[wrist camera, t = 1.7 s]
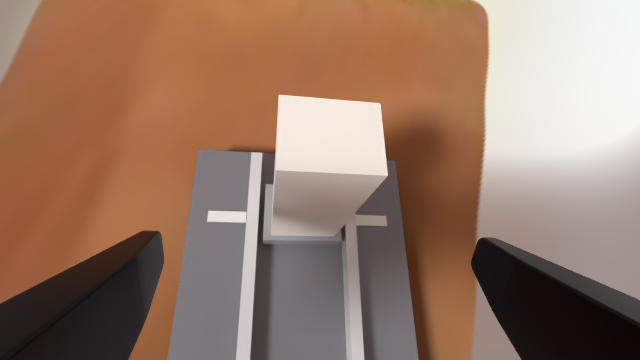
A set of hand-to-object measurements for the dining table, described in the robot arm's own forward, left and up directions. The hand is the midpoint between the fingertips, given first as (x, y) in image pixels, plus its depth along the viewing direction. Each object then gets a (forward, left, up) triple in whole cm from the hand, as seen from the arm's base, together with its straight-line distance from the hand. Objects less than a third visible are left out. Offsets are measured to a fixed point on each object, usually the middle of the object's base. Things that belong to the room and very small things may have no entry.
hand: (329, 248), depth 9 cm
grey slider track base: (-1, 0, -10) cm, 10 cm away
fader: (+3, -2, -8) cm, 9 cm away
